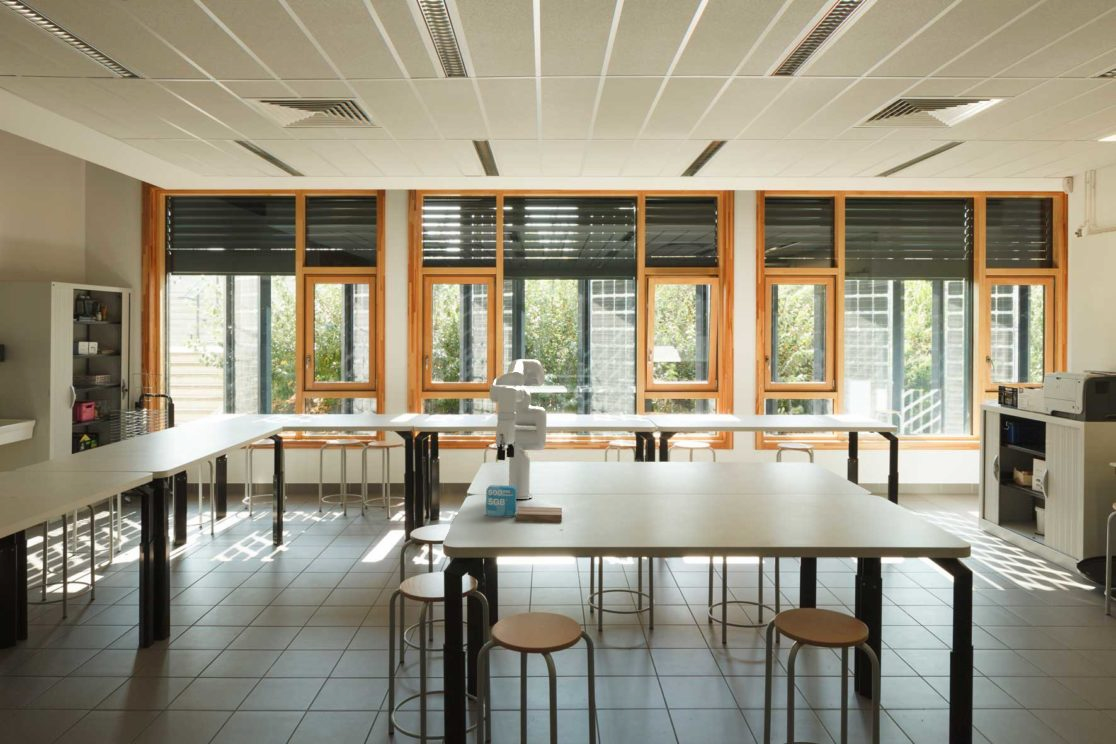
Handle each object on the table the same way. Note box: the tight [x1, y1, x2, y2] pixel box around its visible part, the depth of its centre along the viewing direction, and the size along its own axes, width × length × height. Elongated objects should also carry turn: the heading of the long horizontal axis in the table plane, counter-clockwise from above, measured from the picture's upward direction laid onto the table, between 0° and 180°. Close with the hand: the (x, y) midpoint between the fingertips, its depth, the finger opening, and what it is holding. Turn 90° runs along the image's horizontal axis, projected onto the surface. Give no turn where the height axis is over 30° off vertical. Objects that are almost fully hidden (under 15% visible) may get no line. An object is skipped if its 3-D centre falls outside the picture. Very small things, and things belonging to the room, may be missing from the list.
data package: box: [485, 484, 517, 517], centre depth 313 cm, size 12×4×12 cm, turn 87°
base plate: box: [515, 506, 563, 523], centre depth 309 cm, size 14×18×3 cm
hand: (505, 458), depth 309 cm, fingers open, 9 cm apart
